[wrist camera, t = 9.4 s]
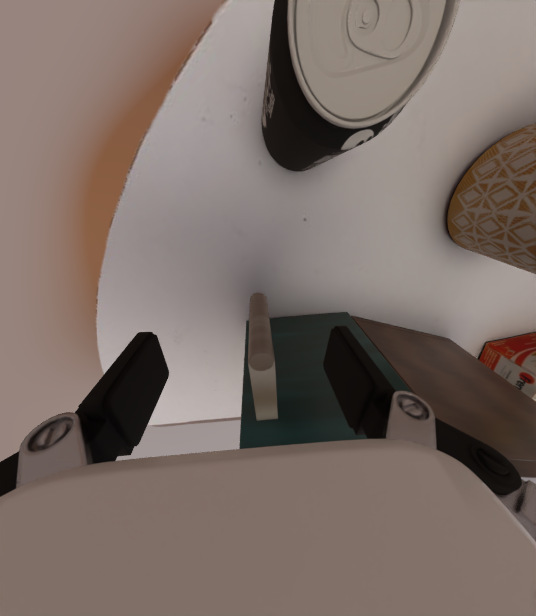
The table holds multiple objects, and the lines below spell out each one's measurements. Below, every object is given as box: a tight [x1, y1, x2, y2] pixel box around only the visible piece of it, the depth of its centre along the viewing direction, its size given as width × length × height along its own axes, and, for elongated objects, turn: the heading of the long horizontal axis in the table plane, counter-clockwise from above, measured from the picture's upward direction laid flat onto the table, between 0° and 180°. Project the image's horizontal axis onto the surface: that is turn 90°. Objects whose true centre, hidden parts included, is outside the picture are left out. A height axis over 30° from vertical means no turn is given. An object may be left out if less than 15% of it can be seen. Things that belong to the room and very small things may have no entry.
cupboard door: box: [240, 293, 412, 449], centre depth 17 cm, size 8×14×18 cm, turn 93°
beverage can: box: [262, 0, 460, 171], centre depth 11 cm, size 7×7×12 cm
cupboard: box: [351, 316, 536, 484], centre depth 24 cm, size 18×14×18 cm
